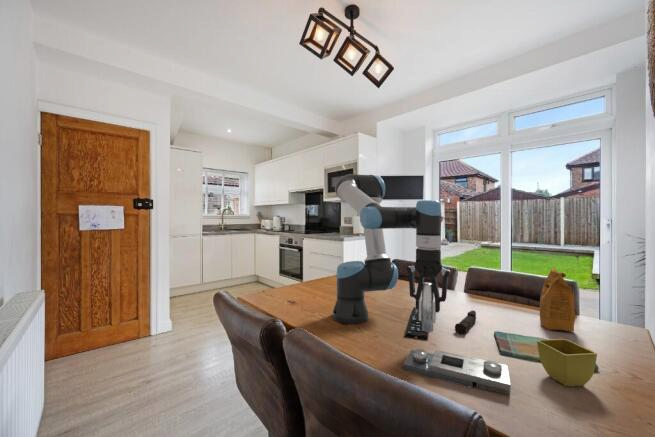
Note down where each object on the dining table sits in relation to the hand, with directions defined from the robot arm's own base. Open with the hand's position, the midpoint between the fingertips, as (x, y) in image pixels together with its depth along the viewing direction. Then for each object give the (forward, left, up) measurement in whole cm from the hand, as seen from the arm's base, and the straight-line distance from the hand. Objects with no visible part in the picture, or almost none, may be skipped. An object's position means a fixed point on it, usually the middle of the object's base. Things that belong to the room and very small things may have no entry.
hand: (427, 320), depth 90 cm
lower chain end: (+5, -11, -9) cm, 15 cm away
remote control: (-7, +22, -10) cm, 25 cm away
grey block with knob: (+12, -11, -9) cm, 19 cm away
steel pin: (0, 0, -3) cm, 3 cm away
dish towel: (+31, +16, -10) cm, 36 cm away
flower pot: (+34, -1, -9) cm, 36 cm away
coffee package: (+40, +43, -9) cm, 60 cm away
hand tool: (+10, +27, -10) cm, 30 cm away
